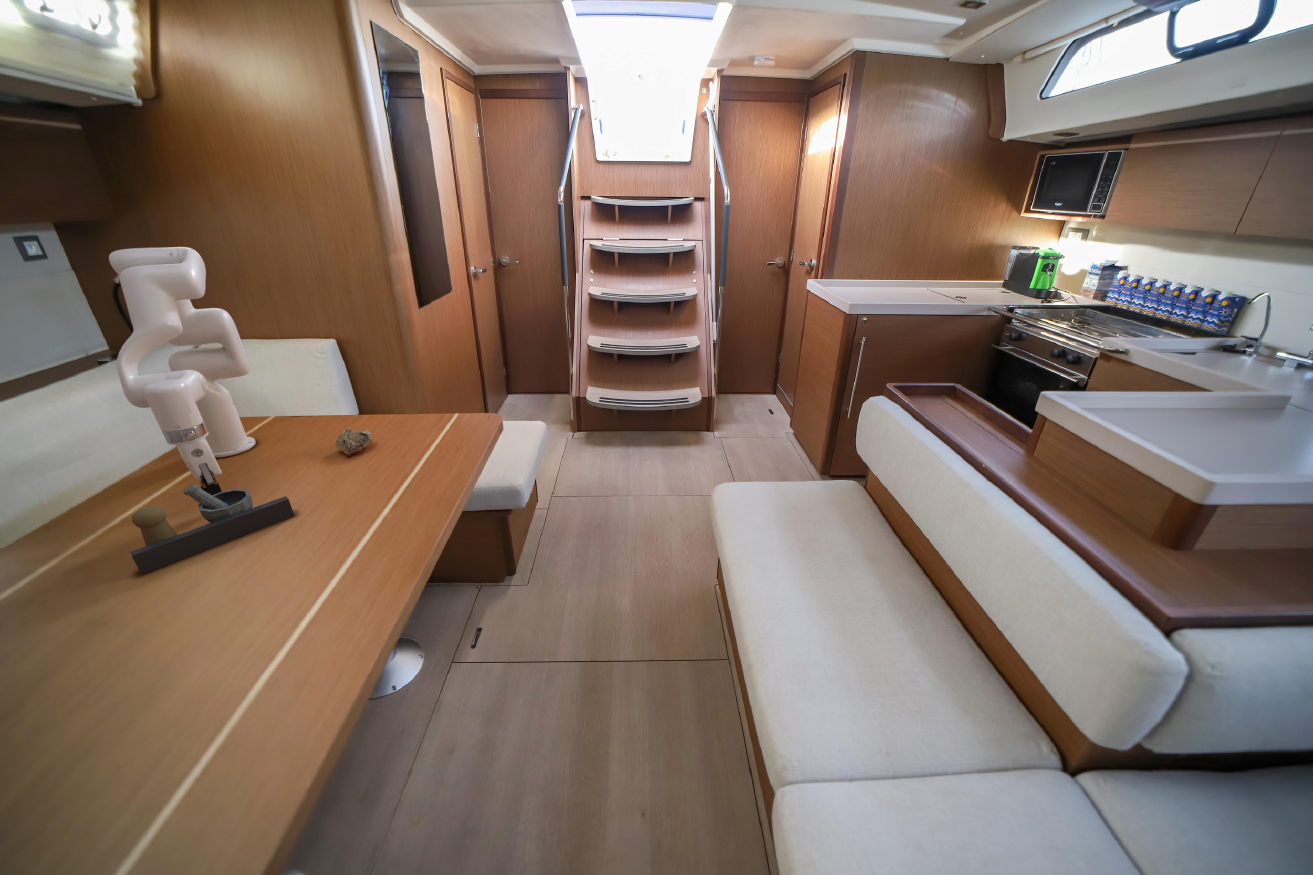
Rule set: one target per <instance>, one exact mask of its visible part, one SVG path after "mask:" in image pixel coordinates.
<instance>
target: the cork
mask: <svg viewBox="0 0 1313 875" xmlns="http://www.w3.org/2000/svg"><path fill="white" fill-rule="evenodd" d="M166 518H167V513H166V510H165V509H164V508H163V507H160V506H157V505H155V506H154V505H153V506H147V507H143V508H141V509H139V510H137V511H136V512H134V513H133V514H132V517H131V521H132V524H133V525H134V526H135V527H137V528H139V529H140V532H141V536H142V539H143V543H144V546H148V545H151V544H154V543H156V542H159V541H162V540H165V539H168V538H170V537H173V536H176V535H178V533H177V532H176V531H175V529H174V528H173V527H172V526H171V524H170V523H169V522H168V521H167V519H166Z"/></svg>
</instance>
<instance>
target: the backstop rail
mask: <svg viewBox="0 0 1313 875" xmlns="http://www.w3.org/2000/svg"><path fill="white" fill-rule="evenodd" d="M293 517H295V512H294V510H293V507H292V504H291V502H290V499H289V498H288V497H287V496H286V495H285V496H282V497H279V498H276V499H273V500H271V501H268V502H265V503H262V504H258V505H257V506H253V507H252V508H251V509H248V510H246V511H243V512H240V513H237V514H234V515H232V516H229V517H226V518H223V519H220V520H218V521H215V522H212V523H210V522H208V523H207V524H204V525H201V526H198V527H196V528H193V529H190V530H187V531H184V532H182V533H179V534H177V535H176V536H173V537H170V538H168V539H165V540H162V541H159V542H156V543H154V544H151V545H148V546H146V545H144V546H143V547H140V548H137V549H134V550H131V551H129V554H130V557H131V558H132V560H133V562H134V564H135V565H136V567H137V569H138V570H139V572H140V574H141V575H142V576H143V575H145V574H146V575H147V574H149V573H151V572H153V571H157V570H159V569H162V568H164V567H166V566H169V565H171V564H174V563H177V562H179V561H181V560H186V559H187V558H189V557H192V556H194V555H198V554H200V553H203V552H205V551H207V550H210V549H214V548H216V547H219V546H221V545H223V544H226V543H228V542H231V541H234V540H236V539H239V538H241V537H244V536H247V535H249V534H252V533H254V532H257V531H259V530H263V529H265V528H267V527H270V526H272V525H275V524H278V523H280V522H283V521H285V520H288V519H291V518H293Z"/></svg>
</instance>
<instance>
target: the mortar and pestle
mask: <svg viewBox="0 0 1313 875" xmlns="http://www.w3.org/2000/svg"><path fill="white" fill-rule="evenodd" d="M183 494H184V495H185V496H189V497H190V498H192V499H193V500H194V501H196V502H197V503H198V510H199V512H200V514H201V516H202V518H203V519H204V520H205V521H207V523H212V522H215V521H218V520H220V519H223V518H226V517H229V516H232V515H234V514H237V513H240V512H243V511H246V510H248V509H251V508H254V503H253V499H252V495H251V494H250V491H249V490H248V489H243V488H233V489H229V490H224V491H223V490H222V492H220V493H217V494H215V495H210V494H209V493H207V492H205V491H203V490H202V488H201V487H199V486H198V485H197V484H196V483H193V484H191V485H189V486H187V487H186V488H185V489H184V491H183Z"/></svg>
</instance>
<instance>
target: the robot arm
mask: <svg viewBox="0 0 1313 875" xmlns="http://www.w3.org/2000/svg"><path fill="white" fill-rule="evenodd" d="M108 261H109V264H110V266H111V268H112V269H113V270H114V272H116V274H117V275H118V276H119V283H120V286H121V289H122V293H123V296H124V301H125V304H126V307H127V311H128V315H129V318H130V322H131V325H132V328H133V331H132V334H131V335H130V336H129V337H128V338H126V340H125V342H124V343H123V344H122V346H121V348H120V350H119V352H118V355H117V358H116V370H117V374H118V377H119V381H120V384H121V388H122V391H123V394H124V396H125V397H126V400H127V401H128V402H129V403H130V404H131V405H132V406H134V407H137V408H141V409H147V408H150V410H151V412H152V415H153V416H154V418H155V420H156V422H157V424H158V426H159V428H160V431H161V433H162V435H163V437H164V439H165V441H166V443H167V445H171V446H175V447H176V449H177V451H178V453H179V455H180V457H181V459H182V460H183V463H184V464H185V466H186V468H187V469H188V470H189V472H190V473H191V475H192V476H193V477H194V478H195V480H196V481H198V482H199V485H200V489H202V490H203V491H205V492H207V493H209V494H210V495H215V494H217V493H220V492H222V491H223V490H222V488H221V486H220V484H219V482H218V480H217V479H216V476H218V475H219V476H220V475H222V473H223V472H222V469H221V468H220V465H219V464H218V461H217V460H216V458H224V457H225V458H226V457H230V456H235V455H238V454H241V453H245V452H246V451H248V450H250V449H251V448H253V447H254V446H255V445H256V443H257V442H256V438H254V437H252V436H247V434H246V430H245V428H244V425H243V423H242V421H241V418H240V416H239V413H238V410H237V407H236V405H235V403H234V400H233V398H232V395H231V393H230V392H229V389H227V388H226V387H224V386H223V385H222V384H220V383H218V382H217V381H218V380H219V381H220V380H227V379H228V380H229V379H233V378H240V377H244V376H246V375H248V374H249V373H250V372H251V363H250V359H249V357H248V354H247V352H246V349H245V346H244V344H243V341H242V339H241V336H240V334H239V331H238V328H237V326H236V323H235V321H234V319H233V318H232V316H231V315H230V313H229V312H228V311H226V310H225V309H223V308H218V307H210V308H209V307H208V308H195V307H194V305H193V303H192V301H191V300H197V299H201V298H203V297H204V295H205V294H206V280H207V279H206V278H207V270H206V264H205V262H204V260H203V258H202V256H201V255H200V253H199V252H198V251H197V250H195V249H194V248H192V247H188V246H187V247H186V246H173V247H169V246H168V247H136V248H124V249H117V250H114V251H112V252H110V254H109V255H108ZM165 343H168V344H169V345H171V346H175V347H176V346H177V347H188V346H189V347H190V346H198V345H199V346H200V345H208V344H216V343H217V344H220V345H216V346H205V347H197V348H188V349H183V350H178V351H176V352H173V353H172V354H171V355H170V356H169V358H168V361H167V362H168V367H169V370H170V371H165V372H158V373H157V372H155V373H149V374H141V375H139V365H140V363H141V362H140V361H142V359H143V358H144V357H145V355H147V354H148V353H149V352H151V351H153V350H154V349H156V348H158V347H160V346H162V345H163V344H165ZM215 475H216V476H215Z"/></svg>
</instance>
